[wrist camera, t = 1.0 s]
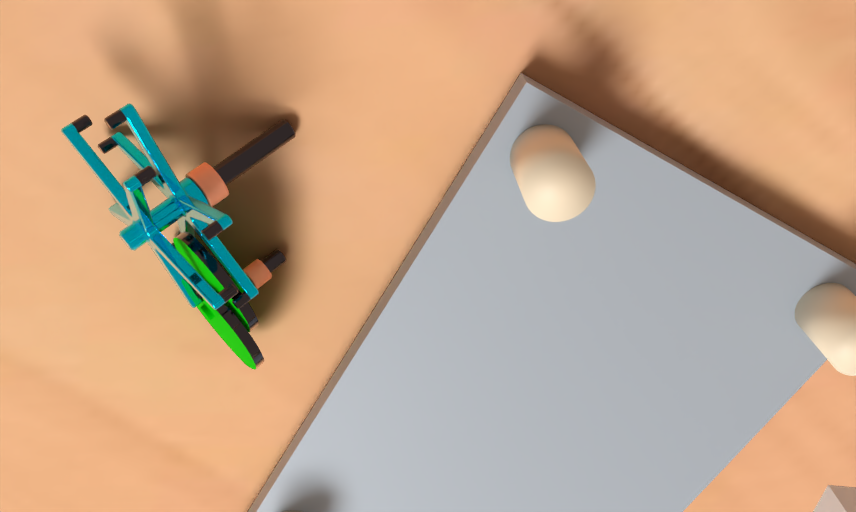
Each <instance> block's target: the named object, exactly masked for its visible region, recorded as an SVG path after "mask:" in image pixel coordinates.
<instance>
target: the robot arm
mask: <svg viewBox="0 0 856 512" xmlns="http://www.w3.org/2000/svg"><path fill="white" fill-rule="evenodd" d="M813 512H856V488H855V487H844V486H834V485H828V486H827V488H826V490H825V491H824V493H823V495H822V497H821V499H820V500H819V502H818V504H817V506H816V507H815V509H814V511H813Z"/></svg>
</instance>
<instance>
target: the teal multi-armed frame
mask: <svg viewBox="0 0 856 512" xmlns="http://www.w3.org/2000/svg"><path fill="white" fill-rule="evenodd" d="M104 121H105V123H106V124H107V126H108V127H109V128H110V129H114V128H116V127H117V126H119V125H120V124H122V123H123V122H125V121H126V123H127V124H128V126H129V128H130V129H131V131H132V133H133V134H134V136H135V138H136V140H137V141H138V143H139V145H140V146H141V148H142V150H143V152H144V153H145V155H146V156H145V155H144V154H143V153H142V152H141V151H140V150H139V149H138V148H137V147H136V146H135V145H134V144H133V143H132V142H130V141H129V140H128V139H127V138H126V137H125V136H124V135H123V134H122V133H121V132H117V133H115V134H114V135H112V136H111V137H109V138H108V139H106V140H104V141H103V142H101V143H100V144H98V148H99V149H100V150H101V152H102V153H104V154H105V153H107V152H109V151H110V150H112V149H113V148H115V147H116V146H118V147H119V148H120V149H121V150H122V151H123V152H124V153H125V154H126V155H127V157H128V158H129V159H130V160H131V161H132V162H133V163H134V164H135V165H136V166H137V167H138V168H139V169H140V170H141V171H139V172H138V173H136V174H135V175H133V176H132V177H130V178H129V179H127V180H126V181H124V182H123V185H124V188H125V190H124V188H123V187H122V186H121V185H120V183H119V182H118V181H117V180H116V178H115V177H114V176H113V175H112V173H111V172H110V171H109V170H108V168H107V167H106V166H105V165H104V163H103V162H102V161H101V160H100V158H99V157H98V156H97V155H96V153H95V152H94V151H93V150H92V148H91V147H90V146H89V145H88V143H87V142H86V141H85V140H84V138H83V137H82V136H81V135H80V132H82V131H83V130H85V129H86V128H88V127H90V126H91V125H92V121H91V120H90V118H89V117H88V116H87V115H83V116H82V117H80V118H78V119H77V120H75V121H74V122H72V123H70V124H69V125H67V126H66V127H64V128H62V129H61V131H62V133H63V135H64V136H65V137H66V138H67V140H68V141H69V142H70V143H71V145H72V146H73V147H74V149H75V150H76V151H77V152H78V154H79V155H80V156H81V157H82V159H83V160H84V161H85V163H86V164H87V165H88V166H89V168H90V169H91V170H92V171H93V173H94V174H95V175H96V177H97V178H98V179H99V180H100V182H101V183H102V184H103V185H104V187H105V188H106V189H107V190H108V192H109V193H110V194H111V196H112V197H113V198H114V199H115V201H116V202H117V203H116V204H114V205H113V206H111V207H110V208H109V211H110V212H111V214H112V215H113V216H115V217H116V218H117V219H119V220H120V221H122V222H123V223H125V224H126V225H127V227H126V228H124V229H123V230H122V231H120V233H119V236H120V237H121V239H122V240H123V242H124V243H125V244H126V245H127V246H128V248H129V249H130V250H136V249H138V248H139V247H140V246H142V245H143V244H145V243H146V242H147V243H148V245H149V246H150V247H151V249H152V250H153V252H154V253H155V255H156V256H157V258H158V259H159V261H160V262H161V264H162V265H163V267H164V268H165V269H166V271H167V272H168V274H169V275H170V277H171V278H172V280H173V281H174V283H175V284H176V286H177V287H178V289H179V290H180V291H181V293H182V294H183V296H184V297H185V299H186V300H187V302H188V303H189V305H190V306H191V307H192V308H195V307H196V306H197V308H198V309H199V310H200V312H201V313H202V314H203V316H204V317H205V318H206V320H207V321H208V322H209V323H210V325H211V326H212V327H213V328H214V329H215V331H216V332H217V333H218V334H219V336H220V337H221V338H222V339H223V340H224V341H225V343H226V344H227V345H228V346H229V347H230V348H231V349H232V350H233V352H234V353H235V354H236V355H237V356H238V357H239V358H240V359H241V360H242V361H243V362H244V363H245V364H246V365H247V366H249V367H250V368H252V369H256V368H257V367H259V366H260V365H261V364H262V363H263V362H264V358H263V356H262V353H261V352H260V350H259V348H258V346H257V345H256V343H255V341H254V340H253V338H252V337H251V335H250V334H249V333H248V332H250V331H251V330H253V329H254V328H255V327H256V326H258V320H257V317H256V315H255V313H254V311H253V310H252V308H251V306H250V305H249V303H248V302H249V301H250V300H251V299H253V298H254V297H255V296H256V295H258V294H259V292H258V290H257V289H258V288H259V287H261V286H262V285H263V284H264V283H266V282H267V281H268V280H270V279H271V278H272V275H271V273H272V272H273V271H275V270H276V269H277V268H278V267H280V266H281V265H282V264H284V263H285V262H286V258H285V256H284V255H283V253H282V252H281V251H280V250H278V249H276V250H275V251H273V252H272V253H271V254H269V255H268V256H267V257H265V258H264V259H263V260H261V261H260V260H259V259H256V260H255V261H253V262H252V263H251V264H249V265H248V266H247V267H246V268H244V269H243V270H242V268H241V267H240V266H239V265H238V263H237V262H236V261H235V259H234V258H233V257H232V255H231V254H230V253H229V251H228V250H227V249H226V247H225V246H224V245H223V243H222V242H221V241H220V239H219V238H218V237H217V235H218V234H219V233H221V232H222V231H223V230H225V229H226V228H227V227H229V226H230V225H232V223H233V222H232V219H231V218H230V217H229V216H228V215H227V214H225V213H223V212H221V211H219V210H217V209H215V208H213V206H214V205H216V204H217V203H219V202H220V201H221V200H223V199H224V198H226V197H227V196H228V195H229V191H228V189H227V187H226V186H227V185H228V184H229V183H231V182H232V181H234V180H235V179H237V178H238V177H239V176H241V175H242V174H244V173H245V172H246V171H248V170H249V169H251V168H252V167H254V166H255V165H256V164H258V163H259V162H261V161H262V160H263V159H265V158H266V157H268V156H269V155H270V154H272V153H273V152H275V151H276V150H278V149H279V148H280V147H282V146H283V145H285V144H286V143H287V142H289V141H290V140H292V139H293V138H295V131H294V129H293V127H292V126H291V125H290V124H289V123H288V122H287V121H286V120H281V121H279V122H278V123H276V124H275V125H273V126H272V127H271V128H269V129H268V130H266V131H265V132H263V133H262V134H260V135H259V136H258V137H256V138H255V139H253V140H252V141H250V142H249V143H247V144H246V145H245V146H243V147H242V148H240V149H239V150H237V151H236V152H234V153H233V154H232V155H230V156H229V157H227V158H226V159H224V160H223V161H221V162H220V163H218V164H217V165H216V166H214V167H213V168H212V167H211V166H210V165H209V164H207V163H205V162H204V163H202V164H201V165H199V166H198V167H196V168H195V169H193V170H192V171H190V172H189V173H188V174H186V178H184V179H183V180H182V181H180V182H179V181H178V179H177V178H176V176H175V174H174V173H173V171H172V169H171V168H170V166H169V164H168V163H167V161H166V159H165V158H164V156H163V154H162V153H161V151H160V149H159V148H158V146H157V144H156V143H155V141H154V139H153V138H152V136H151V134H150V133H149V131H148V129H147V128H146V126H145V124H144V123H143V121H142V119H141V118H140V116H139V114H138V113H137V111H136V109H135V108H134V106H133V105H131V104H127V105H125V106H124V107H122V108H120V109H119V110H117V111H116V112H114V113H112V114H111V115H109V116H108V117H106V118H105V120H104ZM149 181H152V182H153V184H154V185H155V186H156V187H157V188H158V189H159V190H160V191H161V192H162V193H163V194H164V195H165V196H166V197H167V198H168V199H166V200H165V201H164V202H162V203H161V204H159V205H158V206H156V207H155V208H153V209H152V210H149V207H148V204H147V201H146V198H145V195H144V192H143V190H142V186H143V185H145V184H146V183H148V182H149ZM176 221H178V225H179V228H180V232H181V234H179V235H178V236H176V237H175V238H174V239H173V241H174V243H172V244H171V243H170V242H169V241H168V240H167V239H166V238H165V237H164V236H163V235H162V234H161V233H160V232H162V231H163V230H164V229H166V228H167V227H169V226H170V225H171V224H173V223H174V222H176ZM207 223H208V224H209V225H208V224H207ZM195 231H196V232H197V233H198V235H199V236H200V237H201V239H202V240H203V241H204V242H205V244H206V245H207V246H208V247H209V249H210V250H211V251H212V252H213V254H214V255H215V256H216V258H217V259H218V260H219V261H220V263H221V264H222V265H223V266H224V268H225V269H226V270H227V271H228V273H229V274H230V275H231V276H232V278H230V277H229V276H228V274H227V273H226V272H225V271H224V269H223V268H222V267H221V266H220V265H219V263H218V262H217V261H216V260H215V259H214V258H213V256H212V255H211V254H210V253H209V252H208V251H207V250H206V249H205V248H204V247H203V246H202V244H201V243H200V242H199V241H198V240H197V239H196V238H195Z"/></svg>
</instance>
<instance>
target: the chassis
mask: <svg viewBox="0 0 856 512" xmlns="http://www.w3.org/2000/svg"><path fill="white" fill-rule="evenodd" d="M827 359H828V361H829V362H830V363H831V364H832V365H833V366H834V368H835V369H836V370H837V371H839V372H840V373H842V374H845V375H850V376H856V264H855V263H853V262H852V261H850V260H848V259H846V258H845V257H843V256H841V255H839V254H838V253H836V252H834V251H832V250H831V249H829V248H827V247H825V246H824V245H822V244H820V243H818V242H817V241H815V240H813V239H811V238H810V237H808V236H806V235H804V234H803V233H801V232H799V231H797V230H796V229H794V228H792V227H790V226H789V225H787V224H785V223H783V222H782V221H780V220H778V219H776V218H775V217H773V216H771V215H769V214H768V213H766V212H764V211H762V210H761V209H759V208H757V207H755V206H754V205H752V204H750V203H748V202H747V201H745V200H743V199H741V198H740V197H738V196H736V195H734V194H733V193H731V192H729V191H727V190H725V189H724V188H722V187H720V186H718V185H717V184H715V183H713V182H711V181H710V180H708V179H706V178H704V177H703V176H701V175H699V174H697V173H696V172H694V171H692V170H690V169H689V168H687V167H685V166H683V165H682V164H680V163H678V162H676V161H675V160H673V159H671V158H669V157H668V156H666V155H664V154H662V153H661V152H659V151H657V150H655V149H654V148H652V147H650V146H648V145H647V144H645V143H643V142H641V141H640V140H638V139H636V138H634V137H633V136H631V135H629V134H627V133H626V132H624V131H622V130H620V129H619V128H617V127H615V126H613V125H612V124H610V123H608V122H606V121H605V120H603V119H601V118H599V117H598V116H596V115H594V114H592V113H591V112H589V111H587V110H585V109H584V108H582V107H580V106H578V105H577V104H575V103H573V102H571V101H570V100H568V99H566V98H564V97H563V96H561V95H559V94H557V93H556V92H554V91H552V90H550V89H549V88H547V87H545V86H543V85H541V84H540V83H538V82H536V81H534V80H533V79H531V78H529V77H527V76H526V75H524V74H522V73H521V74H520V75H519V77H518V78H517V80H516V82H515V83H514V85H513V86H512V88H511V90H510V91H509V93H508V94H507V96H506V98H505V99H504V101H503V102H502V104H501V106H500V107H499V109H498V110H497V112H496V114H495V115H494V117H493V119H492V120H491V122H490V123H489V125H488V127H487V128H486V130H485V131H484V133H483V135H482V136H481V138H480V139H479V141H478V143H477V144H476V146H475V147H474V149H473V151H472V152H471V154H470V155H469V157H468V159H467V160H466V162H465V163H464V165H463V167H462V168H461V170H460V172H459V173H458V175H457V176H456V178H455V180H454V181H453V183H452V184H451V186H450V188H449V189H448V191H447V192H446V194H445V196H444V197H443V199H442V200H441V202H440V204H439V205H438V207H437V208H436V210H435V212H434V213H433V215H432V216H431V218H430V220H429V221H428V223H427V225H426V226H425V228H424V229H423V231H422V233H421V234H420V236H419V237H418V239H417V241H416V242H415V244H414V245H413V247H412V249H411V250H410V252H409V253H408V255H407V257H406V258H405V260H404V261H403V263H402V265H401V266H400V268H399V270H398V271H397V273H396V274H395V276H394V278H393V279H392V281H391V282H390V284H389V286H388V287H387V289H386V290H385V292H384V294H383V295H382V297H381V298H380V300H379V302H378V303H377V305H376V306H375V308H374V310H373V311H372V313H371V314H370V316H369V318H368V319H367V321H366V323H365V324H364V326H363V327H362V329H361V331H360V332H359V334H358V335H357V337H356V339H355V340H354V342H353V343H352V345H351V347H350V348H349V350H348V351H347V353H346V355H345V356H344V358H343V359H342V361H341V363H340V364H339V366H338V367H337V369H336V371H335V372H334V374H333V376H332V377H331V379H330V380H329V382H328V384H327V385H326V387H325V388H324V390H323V392H322V393H321V395H320V396H319V398H318V400H317V401H316V403H315V404H314V406H313V408H312V409H311V411H310V412H309V414H308V416H307V417H306V419H305V420H304V422H303V424H302V425H301V427H300V429H299V430H298V432H297V433H296V435H295V437H294V438H293V440H292V441H291V443H290V445H289V446H288V448H287V449H286V451H285V453H284V454H283V456H282V457H281V459H280V461H279V462H278V464H277V465H276V467H275V469H274V470H273V472H272V474H271V475H270V477H269V478H268V480H267V482H266V483H265V485H264V486H263V488H262V490H261V491H260V493H259V494H258V496H257V498H256V499H255V501H254V502H253V504H252V506H251V507H250V509H249V510H248V512H683V511H684V510H685V509H686V508H687V507H688V506H689V505H690V503H691V502H692V501H693V500H694V499H695V498H696V497H697V496H698V495H699V494H700V493H701V492H702V491H703V490H704V489H705V488H706V487H707V486H708V485H709V483H710V482H711V481H712V480H713V479H714V478H715V477H716V476H717V475H718V474H719V473H720V472H721V471H722V470H723V469H724V468H725V467H726V466H727V465H728V463H729V462H730V461H731V460H732V459H733V458H734V457H735V456H736V455H737V454H738V453H739V452H740V451H741V450H742V449H743V448H744V447H745V446H746V444H747V443H748V442H749V441H750V440H751V439H752V438H753V437H754V436H755V435H756V434H757V433H758V432H759V431H760V430H761V429H762V428H763V427H764V426H765V424H766V423H767V422H768V421H769V420H770V419H771V418H772V417H773V416H774V415H775V414H776V413H777V412H778V411H779V410H780V409H781V408H782V407H783V406H784V404H785V403H786V402H787V401H788V400H789V399H790V398H791V397H792V396H793V395H794V394H795V393H796V392H797V391H798V390H799V389H800V388H801V387H802V385H803V384H804V383H805V382H806V381H807V380H808V379H809V378H810V377H811V376H812V375H813V374H814V373H815V372H816V371H817V370H818V369H819V368H820V367H821V365H822V364H823V363H824V362H825V361H826V360H827Z"/></svg>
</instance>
